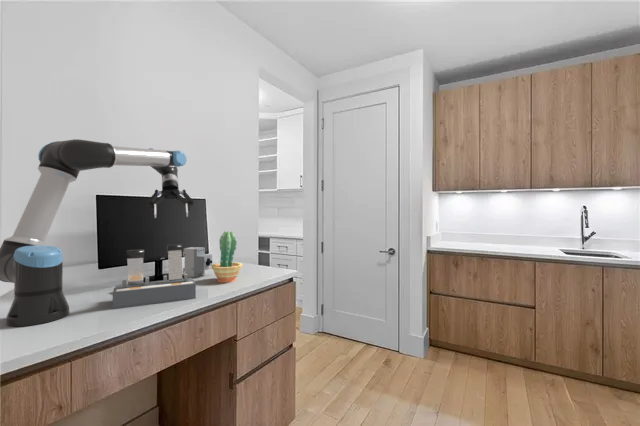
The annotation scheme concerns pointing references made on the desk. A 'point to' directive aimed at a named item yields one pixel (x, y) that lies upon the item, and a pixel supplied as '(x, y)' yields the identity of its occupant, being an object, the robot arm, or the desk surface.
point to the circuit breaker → (196, 261)
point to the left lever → (135, 266)
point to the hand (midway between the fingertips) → (171, 215)
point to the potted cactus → (227, 259)
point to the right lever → (175, 262)
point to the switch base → (153, 292)
